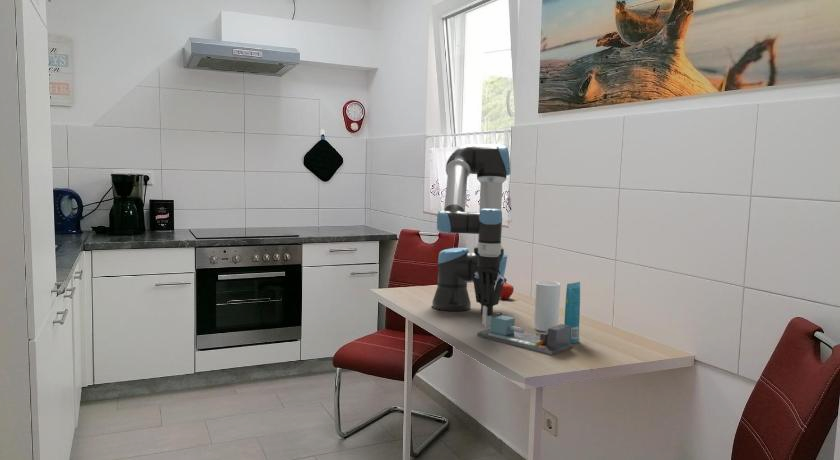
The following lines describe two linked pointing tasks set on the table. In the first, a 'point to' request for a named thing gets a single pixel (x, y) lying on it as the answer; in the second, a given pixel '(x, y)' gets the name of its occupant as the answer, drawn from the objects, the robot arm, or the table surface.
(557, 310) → the cup
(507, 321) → the block
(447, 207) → the robot arm
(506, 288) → the apple
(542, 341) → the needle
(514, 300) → the table surface
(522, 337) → the rail base
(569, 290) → the tube
